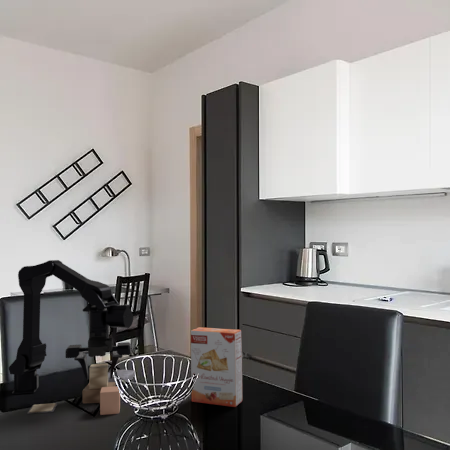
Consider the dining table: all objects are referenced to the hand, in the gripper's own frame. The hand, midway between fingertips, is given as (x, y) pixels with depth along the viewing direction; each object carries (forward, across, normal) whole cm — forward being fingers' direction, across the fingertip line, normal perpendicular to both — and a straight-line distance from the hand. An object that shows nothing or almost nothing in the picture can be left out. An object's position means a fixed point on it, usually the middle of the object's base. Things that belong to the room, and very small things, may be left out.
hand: (99, 378), depth 144 cm
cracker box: (+6, +34, -11) cm, 36 cm away
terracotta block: (+6, +4, -12) cm, 14 cm away
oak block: (+2, 0, 0) cm, 2 cm away
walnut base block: (+6, 0, 0) cm, 6 cm away
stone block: (+6, +4, +15) cm, 17 cm away
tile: (+6, -15, -6) cm, 17 cm away
